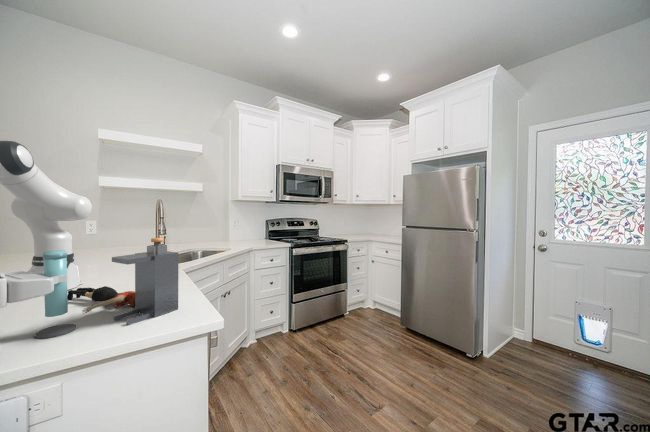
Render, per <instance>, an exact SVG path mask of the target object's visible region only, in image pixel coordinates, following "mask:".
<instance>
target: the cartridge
mask: <svg viewBox="0 0 650 432" xmlns="http://www.w3.org/2000/svg"><path fill="white" fill-rule="evenodd" d="M66 257H67V252H66V250H56V251H47V252H43V260H44V276H46V277H53V276H56V275H66V276H67V258H66ZM67 296H68V290H67V280H66V281H65V282H60V283H57V284H54V291H53V292H52V293H49V294H47V295H44V296H43V298H44V317H45V318H53V317H59V316H63V315H65V314H67V313H68V312H69V309H68V308H69V307H68V306H69V305H68V304H69V303H68V301H69V300H68V298H67Z"/></svg>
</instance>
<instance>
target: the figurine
mask: <svg viewBox="0 0 650 432" xmlns="http://www.w3.org/2000/svg"><path fill="white" fill-rule="evenodd" d="M74 296H76V297H75V298H76V299H80V298H81V297H86V298H89V299H91V301H93V302H95V303H96V304H94V305H89V306H87V307H84V308H83V309H82V311H81V312H82V314H83V315H85V314H87V313H89V312H91V311H92V310H93V309H96V308H100V307H104V306H105V305H106V306H107V305H111V304H113V306H115V307H120V306H123V305H126V306H127V305H130V306H131V307H135V290H131V291H130V290H129V291H123V292H118V291H117V290H116V289H114V288H113V287H110V286H100V287H98V288H94V287H77V288H76V290H75V289H73V290H72V289H69V290H67V300H68V301H69V300H70V301H72V300H73V297H74ZM97 302H98V303H97Z"/></svg>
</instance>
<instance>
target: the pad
mask: <svg viewBox="0 0 650 432" xmlns="http://www.w3.org/2000/svg"><path fill="white" fill-rule="evenodd" d="M76 330H77V324H76V323H68V322H67V323H60V324H55V325H51V326H48V327H44V328H42V329H39V330H38V331H36V332H35V333H34V338H36V339H38V340H39V339H40V340H41V339H42V340H44V339H45V340H46V339H52V338H57V337H60V336H65V335H67V334H69V333H72V332H74V331H76Z"/></svg>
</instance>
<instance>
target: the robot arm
mask: <svg viewBox="0 0 650 432" xmlns="http://www.w3.org/2000/svg"><path fill="white" fill-rule="evenodd" d="M0 184H1V185H2V186H3V187H4V188H5V189H6V190H7V191H9V192H10V193H11V194H12V195H13V196H14V199H13V200H12V202H11V205H10V208H11V209H10V210H11V212H12V214H13V215H14V216H15V217H16V218H18V219H19V220H21V221H22V222H24V223H25V225H26V226H27V227H28V228H29V230H30V232H31V235H32V238H33V247H34V255H33V257H32V259H31V265H32V266H30V268H29V269H28V270H27V271H25V270H21V269H14V270H13V269H12V270H7V271H6V270H5V271H0V309H3V308H5V307H7V305H8V304H12V303H20V302H23V301H28V300H31V299H35V298H40V297H44V295H47V294H49V293H52V292H53V291H54V284H57V283H60V282H65V281H66V280H67V291H69V290H72V289H75V288H78V287H79V286H80V285H82V284H84V281H83V280H80V273H79V266H78V265H77V264H75V263H74V262H75V253H74V250H73V235H72V234H71V233H70V232H69V231H67V230H65V229H63V228H62V227H61V226H60V224H59V222H74V221H81V220H85V219H87V218H89V217H90V216H91V214H92V212H93V204H92V202H91V201H90V199H89V198H88V197H86V196H83V195H81V194H78V193H74V192H72V191H70V190H68V189H67V188H64V187H62V186H61V185H59V184H57V183H56V182H55V181H53V180H52V179H50V178H49V177H48V175H46V173H44V172H43V170H41V168H40V167H38V166H37V165H36V164H35V162H34V157H33V155H32V153H31V151H29V149H28V148H27V147H26V146H25V145H23V144H21V143H18V142H16V141H13V140H0ZM56 250H66V252H67V257H66V258H67V276H66V275H56V276H53V277H46V276H44V260H43V252H47V251H56Z"/></svg>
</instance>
